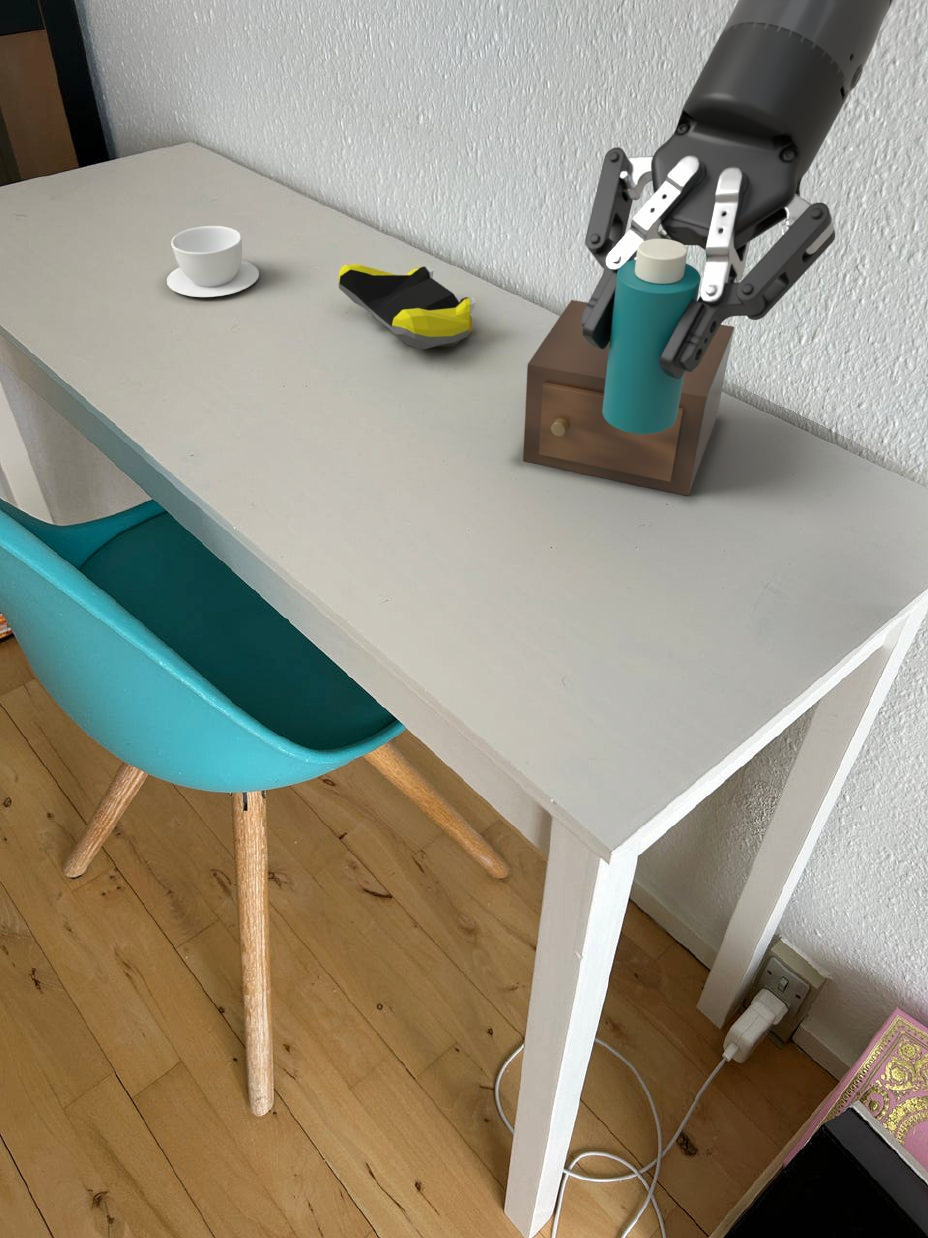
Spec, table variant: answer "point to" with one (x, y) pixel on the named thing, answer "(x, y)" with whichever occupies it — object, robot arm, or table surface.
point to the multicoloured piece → (409, 304)
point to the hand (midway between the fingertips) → (630, 355)
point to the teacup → (210, 263)
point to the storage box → (579, 434)
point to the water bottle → (647, 337)
